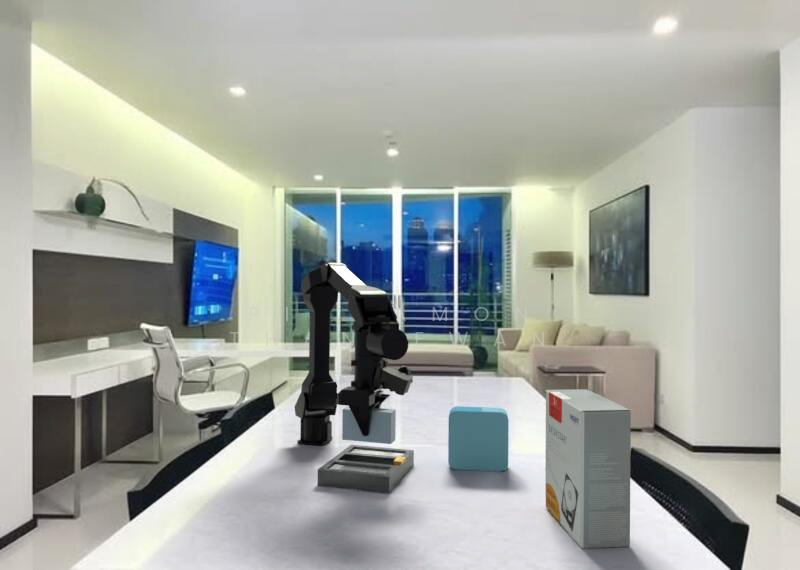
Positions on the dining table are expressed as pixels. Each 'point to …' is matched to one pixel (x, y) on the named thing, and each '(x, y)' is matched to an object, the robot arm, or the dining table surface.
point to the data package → (478, 439)
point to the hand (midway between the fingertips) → (368, 433)
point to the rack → (366, 468)
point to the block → (379, 427)
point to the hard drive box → (588, 467)
